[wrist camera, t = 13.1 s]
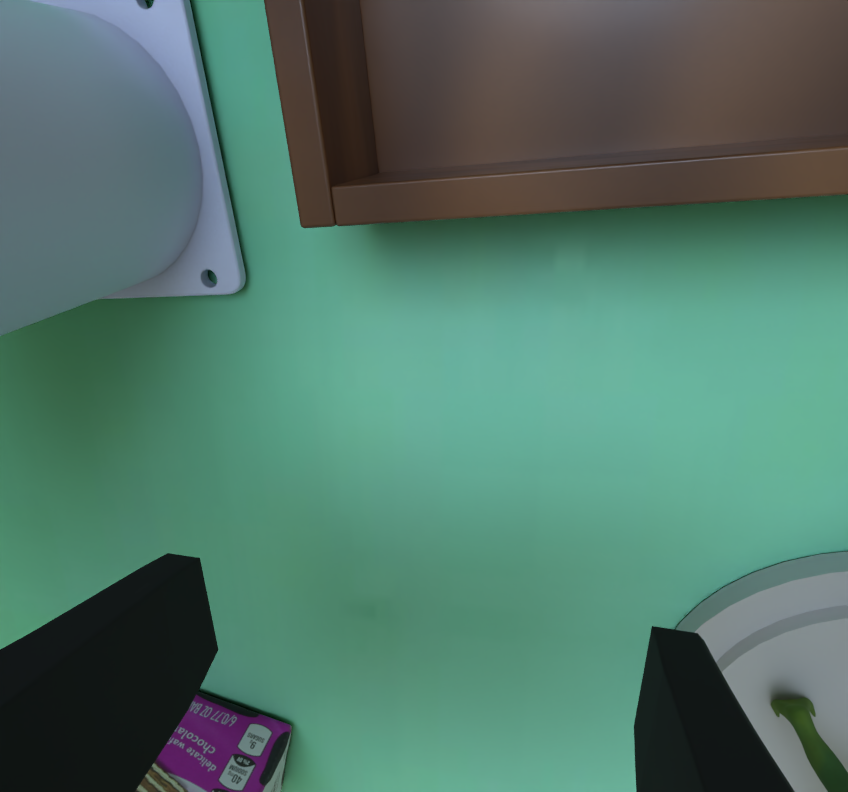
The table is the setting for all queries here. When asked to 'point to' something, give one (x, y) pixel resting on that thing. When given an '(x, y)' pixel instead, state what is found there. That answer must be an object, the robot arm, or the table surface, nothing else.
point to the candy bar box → (221, 751)
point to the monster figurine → (788, 662)
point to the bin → (557, 104)
